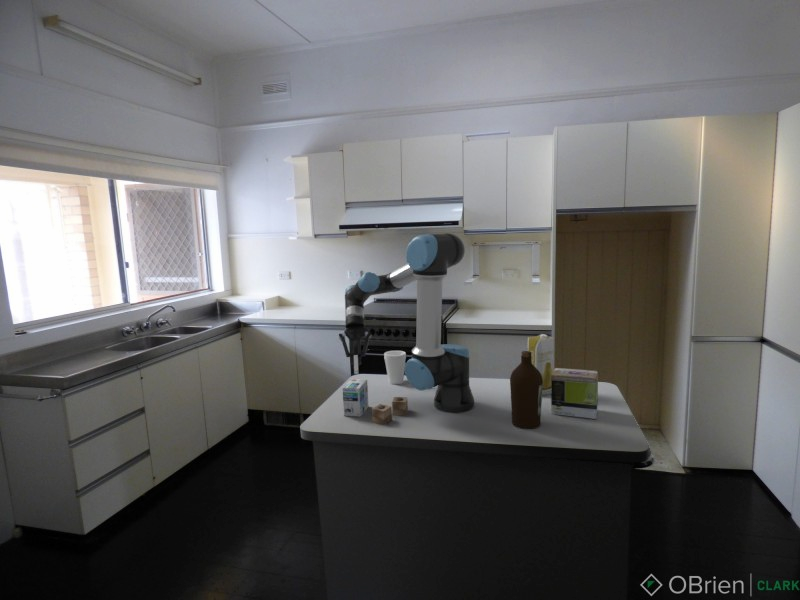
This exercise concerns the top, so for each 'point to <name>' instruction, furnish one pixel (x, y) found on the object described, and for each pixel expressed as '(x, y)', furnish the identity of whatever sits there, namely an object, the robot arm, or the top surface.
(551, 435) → the top surface
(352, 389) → the light bulb box
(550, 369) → the juice carton
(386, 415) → the walnut cube
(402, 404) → the walnut cube
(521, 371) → the olive oil
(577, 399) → the tea box
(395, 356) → the foam cup
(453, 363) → the robot arm
